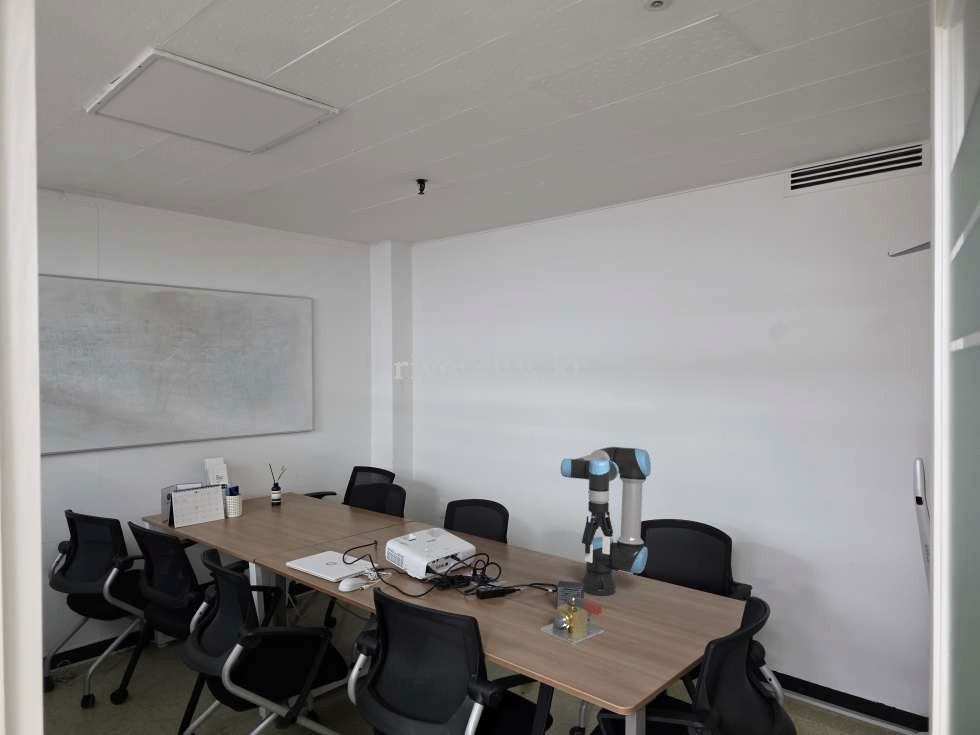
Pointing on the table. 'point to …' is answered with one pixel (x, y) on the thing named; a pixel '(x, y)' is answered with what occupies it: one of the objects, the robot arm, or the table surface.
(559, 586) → the small box
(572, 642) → the valve body
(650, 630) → the table surface
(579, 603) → the lever
